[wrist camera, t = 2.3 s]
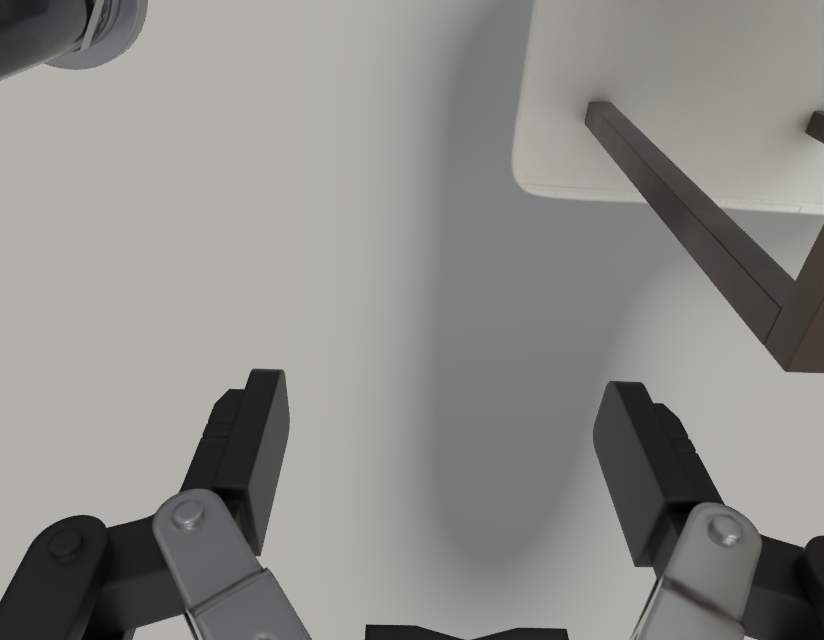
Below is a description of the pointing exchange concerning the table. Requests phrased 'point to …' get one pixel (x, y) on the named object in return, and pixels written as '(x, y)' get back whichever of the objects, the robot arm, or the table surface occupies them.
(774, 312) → the shelf
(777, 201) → the table surface
